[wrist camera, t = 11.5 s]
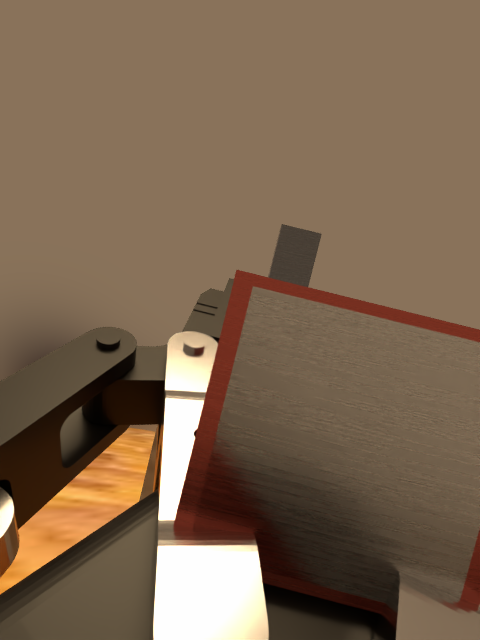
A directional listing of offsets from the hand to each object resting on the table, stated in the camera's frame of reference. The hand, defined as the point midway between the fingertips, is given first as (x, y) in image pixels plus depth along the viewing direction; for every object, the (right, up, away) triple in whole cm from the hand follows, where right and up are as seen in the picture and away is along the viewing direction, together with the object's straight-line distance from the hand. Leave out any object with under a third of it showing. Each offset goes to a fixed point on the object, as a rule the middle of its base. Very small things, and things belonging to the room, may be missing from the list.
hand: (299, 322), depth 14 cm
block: (-1, -3, +10) cm, 10 cm away
